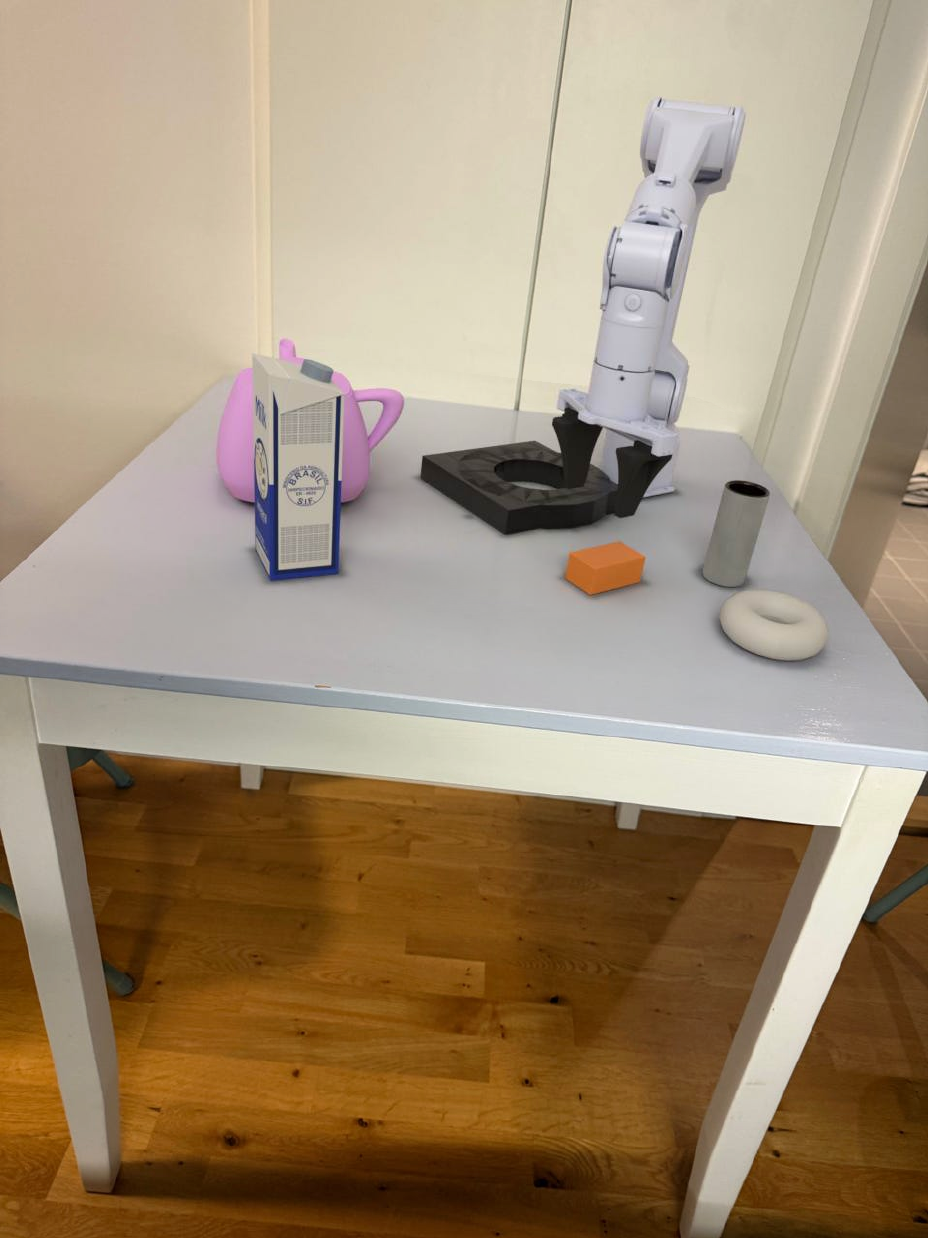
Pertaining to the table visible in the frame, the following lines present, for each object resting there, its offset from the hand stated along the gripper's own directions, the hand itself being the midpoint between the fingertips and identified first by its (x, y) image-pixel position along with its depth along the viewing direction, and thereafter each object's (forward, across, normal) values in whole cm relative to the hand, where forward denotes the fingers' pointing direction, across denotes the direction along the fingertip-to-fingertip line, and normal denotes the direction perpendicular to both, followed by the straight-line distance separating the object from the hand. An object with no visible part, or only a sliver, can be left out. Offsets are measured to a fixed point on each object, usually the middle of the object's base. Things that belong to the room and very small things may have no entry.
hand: (598, 500), depth 89 cm
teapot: (+8, -32, -18) cm, 38 cm away
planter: (+8, +7, +14) cm, 18 cm away
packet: (+8, +2, +1) cm, 9 cm away
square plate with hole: (+8, -19, +8) cm, 22 cm away
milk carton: (+8, -14, -26) cm, 31 cm away
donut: (+8, +18, +8) cm, 21 cm away
